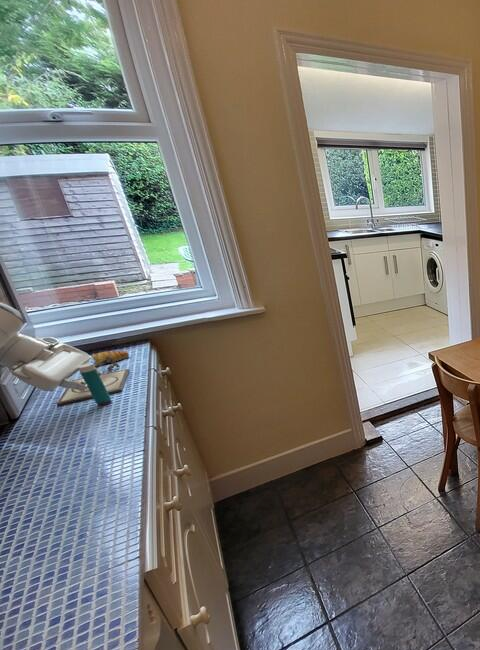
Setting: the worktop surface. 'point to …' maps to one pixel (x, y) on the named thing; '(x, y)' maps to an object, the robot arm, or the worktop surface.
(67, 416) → the worktop surface
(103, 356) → the pastry
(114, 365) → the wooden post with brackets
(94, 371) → the dot marker
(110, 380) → the drawing board
